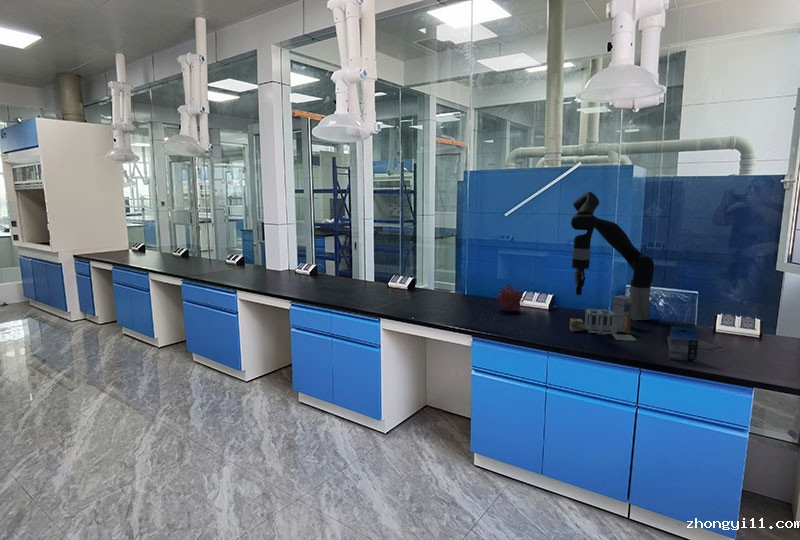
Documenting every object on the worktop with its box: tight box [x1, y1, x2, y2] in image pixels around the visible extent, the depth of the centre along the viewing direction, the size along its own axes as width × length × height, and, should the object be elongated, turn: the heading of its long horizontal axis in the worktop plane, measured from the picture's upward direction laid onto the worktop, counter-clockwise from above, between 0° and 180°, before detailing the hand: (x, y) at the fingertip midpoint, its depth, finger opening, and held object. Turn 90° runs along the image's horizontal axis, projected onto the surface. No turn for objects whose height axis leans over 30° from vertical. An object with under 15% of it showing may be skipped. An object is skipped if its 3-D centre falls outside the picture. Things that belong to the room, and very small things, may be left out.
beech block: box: [569, 318, 584, 332], centre depth 214 cm, size 5×5×5 cm
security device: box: [666, 335, 724, 352], centre depth 191 cm, size 17×22×2 cm
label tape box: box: [667, 326, 699, 362], centre depth 173 cm, size 9×4×12 cm, turn 69°
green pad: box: [611, 333, 637, 342], centre depth 201 cm, size 8×8×1 cm
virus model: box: [496, 284, 525, 313], centre depth 250 cm, size 15×15×15 cm
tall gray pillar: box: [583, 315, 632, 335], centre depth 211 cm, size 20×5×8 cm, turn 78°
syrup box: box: [612, 294, 631, 326], centre depth 222 cm, size 6×6×14 cm
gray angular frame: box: [584, 308, 618, 335], centre depth 211 cm, size 12×10×10 cm
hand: (578, 294), depth 211 cm, fingers closed
